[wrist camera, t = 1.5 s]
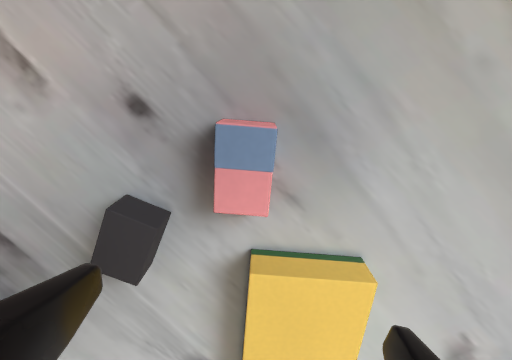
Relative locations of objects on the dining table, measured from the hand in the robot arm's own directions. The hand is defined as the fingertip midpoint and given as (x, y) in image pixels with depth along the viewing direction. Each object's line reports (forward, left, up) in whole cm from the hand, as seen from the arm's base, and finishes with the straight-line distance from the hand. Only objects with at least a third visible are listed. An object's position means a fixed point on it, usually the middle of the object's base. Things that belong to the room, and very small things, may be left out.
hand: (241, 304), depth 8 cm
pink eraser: (-1, +1, -13) cm, 13 cm away
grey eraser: (-10, -6, -13) cm, 18 cm away
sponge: (+5, -15, -13) cm, 21 cm away
